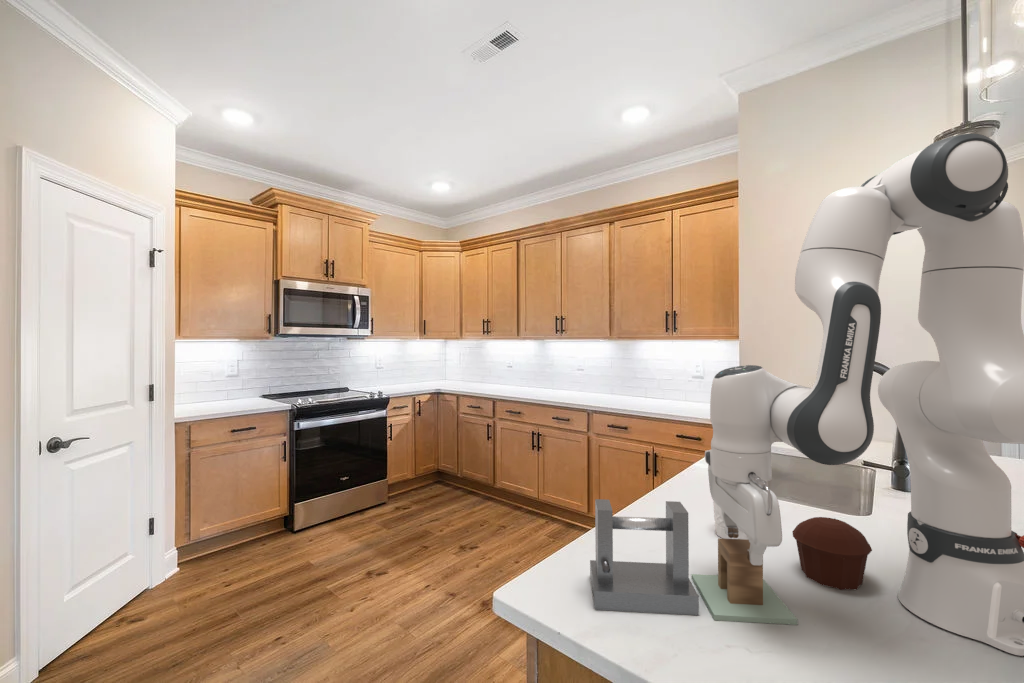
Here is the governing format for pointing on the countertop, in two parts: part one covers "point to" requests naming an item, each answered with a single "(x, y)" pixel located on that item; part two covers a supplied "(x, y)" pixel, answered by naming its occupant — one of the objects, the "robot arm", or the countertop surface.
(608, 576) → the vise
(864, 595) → the countertop surface
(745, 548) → the wooden block
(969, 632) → the robot arm
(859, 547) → the muffin
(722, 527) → the white cup
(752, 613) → the mat
